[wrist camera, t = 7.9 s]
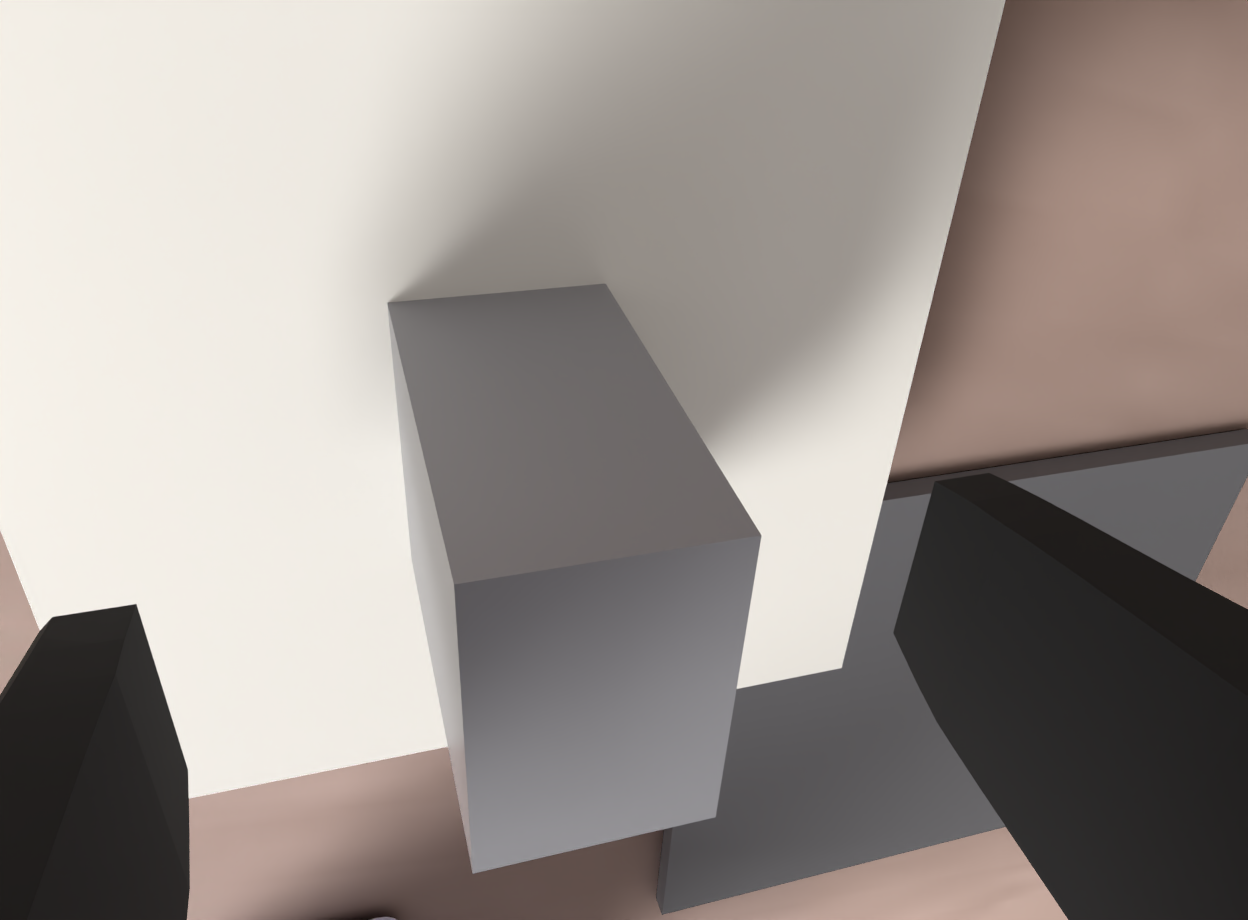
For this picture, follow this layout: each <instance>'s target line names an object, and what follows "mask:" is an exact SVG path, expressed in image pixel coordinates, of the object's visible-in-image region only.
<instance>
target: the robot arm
mask: <svg viewBox="0 0 1248 920" xmlns="http://www.w3.org/2000/svg"><path fill="white" fill-rule="evenodd" d="M893 633H894V636H895V638H896V640H897V642H898V644H899V646H900V648H901V651H902V653H903V655H904V657H905V659H906V661H907V663H908V666H909V668H910V670H911V672H912V674H913V676H914V678H915V681H916V683H917V685H918V687H919V688H920V690H921V692H922V694H923V696H924V698H925V700H926V702H927V704H928V706H929V708H930V710H931V712H932V714H933V716H934V718H935V720H936V722H937V723H938V725H939V726H940V728H941V729H942V731H943V733H944V734H945V736H946V737H947V739H948V740H949V742H950V744H951V745H952V747H953V748H954V750H955V751H956V753H957V754H958V756H959V757H960V759H961V760H962V762H963V763H964V765H965V766H966V768H967V769H968V771H969V772H970V774H971V775H972V777H973V778H974V780H975V781H976V783H977V784H978V786H979V788H980V789H981V791H982V792H983V794H984V795H985V797H986V798H987V799H988V801H989V802H990V804H991V805H992V807H993V808H994V810H995V811H996V813H997V814H998V816H999V817H1000V819H1001V820H1002V822H1003V823H1004V825H1005V826H1006V828H1007V829H1008V831H1009V832H1010V834H1011V835H1012V837H1013V838H1014V840H1015V841H1016V842H1017V844H1018V845H1019V847H1020V848H1021V850H1022V851H1023V853H1024V854H1025V856H1026V857H1027V859H1028V860H1029V862H1030V863H1031V865H1032V866H1033V868H1034V869H1035V871H1036V872H1037V874H1038V875H1039V877H1040V878H1041V880H1042V881H1043V883H1044V884H1045V886H1046V887H1047V889H1048V890H1049V891H1050V893H1051V894H1052V896H1053V897H1054V899H1055V900H1056V902H1057V903H1058V905H1059V906H1060V908H1061V909H1062V911H1063V912H1064V914H1065V915H1066V917H1067V918H1068V920H1248V609H1246V608H1244V607H1242V606H1240V605H1238V604H1236V603H1234V602H1233V601H1231V600H1229V599H1227V598H1225V597H1223V596H1221V595H1219V594H1217V593H1216V592H1214V591H1212V590H1210V589H1208V588H1206V587H1204V586H1202V585H1200V584H1199V583H1197V582H1195V581H1193V580H1191V579H1189V578H1188V577H1186V576H1184V575H1182V574H1180V573H1178V572H1176V571H1175V570H1173V569H1171V568H1169V567H1167V566H1165V565H1163V564H1162V563H1160V562H1158V561H1156V560H1154V559H1153V558H1151V557H1149V556H1147V555H1145V554H1143V553H1142V552H1140V551H1138V550H1136V549H1134V548H1132V547H1131V546H1129V545H1127V544H1125V543H1123V542H1121V541H1120V540H1118V539H1116V538H1114V537H1112V536H1111V535H1109V534H1107V533H1105V532H1103V531H1101V530H1100V529H1098V528H1096V527H1094V526H1092V525H1091V524H1089V523H1087V522H1085V521H1083V520H1081V519H1079V518H1078V517H1076V516H1074V515H1072V514H1070V513H1068V512H1066V511H1065V510H1063V509H1061V508H1059V507H1057V506H1055V505H1053V504H1052V503H1050V502H1048V501H1046V500H1044V499H1042V498H1040V497H1038V496H1036V495H1034V494H1032V493H1030V492H1029V491H1026V490H1024V489H1022V488H1020V487H1018V486H1016V485H1014V484H1012V483H1010V482H1008V481H1006V480H1004V479H1002V478H999V477H997V476H995V475H993V474H991V473H985V474H978V475H972V476H965V477H959V478H952V479H946V480H939V481H935V482H934V486H933V489H932V493H931V497H930V500H929V504H928V508H927V511H926V515H925V519H924V522H923V526H922V530H921V533H920V537H919V540H918V544H917V548H916V551H915V555H914V559H913V562H912V566H911V570H910V573H909V577H908V581H907V584H906V588H905V592H904V595H903V599H902V602H901V606H900V610H899V613H898V617H897V621H896V624H895V628H894V632H893ZM189 889H190V881H189V793H188V768H187V765H186V762H185V759H184V755H183V752H182V749H181V746H180V743H179V739H178V736H177V733H176V730H175V727H174V723H173V720H172V717H171V714H170V710H169V707H168V704H167V701H166V698H165V694H164V691H163V688H162V685H161V682H160V678H159V675H158V672H157V669H156V665H155V662H154V659H153V656H152V653H151V649H150V646H149V643H148V640H147V637H146V633H145V630H144V627H143V624H142V620H141V617H140V614H139V611H138V608H137V604H133V605H127V606H120V607H114V608H107V609H101V610H94V611H88V612H81V613H75V614H68V615H62V616H55V617H52V618H51V619H50V620H49V621H48V622H47V623H46V624H45V626H44V627H43V628H42V629H41V630H40V631H39V633H38V635H37V636H36V638H35V640H34V641H33V643H32V645H31V646H30V648H29V649H28V651H27V653H26V654H25V656H24V658H23V659H22V661H21V662H20V664H19V666H18V667H17V669H16V671H15V672H14V674H13V675H12V677H11V679H10V680H9V682H8V684H7V685H6V687H5V688H4V690H3V692H2V693H1V695H0V920H187V910H188V899H189ZM370 920H397V919H395V918H393V917H379V918H374V919H370Z"/></svg>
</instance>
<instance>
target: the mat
mask: <svg viewBox="0 0 1248 920" xmlns="http://www.w3.org/2000/svg"><path fill="white" fill-rule="evenodd" d="M985 473H991V474H993V475H995V476H997V477H999V478H1002V479H1004V480H1006V481H1008V482H1010V483H1012V484H1014V485H1016V486H1018V487H1020V488H1022V489H1024V490H1026V491H1029V492H1030V493H1032V494H1034V495H1036V496H1038V497H1040V498H1042V499H1044V500H1046V501H1048V502H1050V503H1052V504H1053V505H1055V506H1057V507H1059V508H1061V509H1063V510H1065V511H1066V512H1068V513H1070V514H1072V515H1074V516H1076V517H1078V518H1079V519H1081V520H1083V521H1085V522H1087V523H1089V524H1091V525H1092V526H1094V527H1096V528H1098V529H1100V530H1101V531H1103V532H1105V533H1107V534H1109V535H1111V536H1112V537H1114V538H1116V539H1118V540H1120V541H1121V542H1123V543H1125V544H1127V545H1129V546H1131V547H1132V548H1134V549H1136V550H1138V551H1140V552H1142V553H1143V554H1145V555H1147V556H1149V557H1151V558H1153V559H1154V560H1156V561H1158V562H1160V563H1162V564H1163V565H1165V566H1167V567H1169V568H1171V569H1173V570H1175V571H1176V572H1178V573H1180V574H1182V575H1184V576H1186V577H1188V578H1189V579H1191V580H1193V581H1196V579H1197V577H1198V575H1199V573H1200V571H1201V569H1202V567H1203V565H1204V563H1205V561H1206V559H1207V557H1208V555H1209V553H1210V551H1211V549H1212V547H1213V545H1214V543H1215V541H1216V539H1217V537H1218V535H1219V533H1220V531H1221V529H1222V527H1223V525H1224V522H1225V520H1226V518H1227V516H1228V514H1229V512H1230V510H1231V508H1232V506H1233V504H1234V502H1235V500H1236V498H1237V496H1238V494H1239V492H1240V490H1241V488H1242V486H1243V484H1244V482H1245V480H1246V478H1247V476H1248V429H1243V430H1237V431H1230V432H1223V433H1217V434H1210V435H1204V436H1197V437H1190V438H1184V439H1177V440H1171V441H1164V442H1157V443H1151V444H1144V445H1137V446H1131V447H1124V448H1118V449H1111V450H1104V451H1098V452H1091V453H1085V454H1078V455H1071V456H1065V457H1058V458H1052V459H1045V460H1038V461H1032V462H1025V463H1019V464H1012V465H1005V466H999V467H992V468H986V469H979V470H972V471H966V472H959V473H953V474H946V475H939V476H933V477H926V478H920V479H913V480H906V481H900V482H893V483H887V485H886V489H885V493H884V497H883V501H882V505H881V509H880V514H879V518H878V522H877V526H876V530H875V534H874V538H873V542H872V546H871V550H870V554H869V558H868V562H867V566H866V571H865V575H864V579H863V583H862V587H861V591H860V595H859V599H858V603H857V607H856V611H855V615H854V619H853V623H852V628H851V632H850V636H849V640H848V644H847V648H846V652H845V656H844V660H843V664H842V668H839V669H834V670H829V671H824V672H819V673H814V674H809V675H804V676H799V677H794V678H789V679H784V680H779V681H774V682H769V683H764V684H759V685H754V686H749V687H744V688H739V689H736V695H735V701H734V707H733V714H732V720H731V726H730V732H729V738H728V744H727V750H726V756H725V763H724V769H723V775H722V781H721V787H720V793H719V799H718V806H717V812H716V817H714V818H710V819H706V820H701V821H697V822H693V823H688V824H684V825H680V826H676V827H671V828H667V829H664V833H663V842H662V851H661V859H660V868H659V877H658V885H657V894H656V899H657V902H658V904H659V907H660V910H661V913H662V915H663V914H667V913H671V912H675V911H679V910H682V909H686V908H690V907H694V906H698V905H702V904H706V903H710V902H714V901H718V900H721V899H725V898H729V897H733V896H737V895H741V894H745V893H749V892H753V891H757V890H760V889H764V888H768V887H772V886H776V885H780V884H784V883H788V882H792V881H796V880H799V879H803V878H807V877H811V876H815V875H819V874H823V873H827V872H831V871H835V870H839V869H842V868H846V867H850V866H854V865H858V864H862V863H866V862H870V861H874V860H878V859H881V858H885V857H889V856H893V855H897V854H901V853H905V852H909V851H913V850H917V849H920V848H924V847H928V846H932V845H936V844H940V843H944V842H948V841H952V840H956V839H960V838H963V837H967V836H971V835H975V834H979V833H983V832H987V831H991V830H995V829H999V828H1002V827H1006V826H1005V825H1004V823H1003V822H1002V820H1001V819H1000V817H999V816H998V814H997V813H996V811H995V810H994V808H993V807H992V805H991V804H990V802H989V801H988V799H987V798H986V797H985V795H984V794H983V792H982V791H981V789H980V788H979V786H978V784H977V783H976V781H975V780H974V778H973V777H972V775H971V774H970V772H969V771H968V769H967V768H966V766H965V765H964V763H963V762H962V760H961V759H960V757H959V756H958V754H957V753H956V751H955V750H954V748H953V747H952V745H951V744H950V742H949V740H948V739H947V737H946V736H945V734H944V733H943V731H942V729H941V728H940V726H939V725H938V723H937V722H936V720H935V718H934V716H933V714H932V712H931V710H930V708H929V706H928V704H927V702H926V700H925V698H924V696H923V694H922V692H921V690H920V688H919V687H918V685H917V683H916V681H915V678H914V676H913V674H912V672H911V670H910V668H909V666H908V663H907V661H906V659H905V657H904V655H903V653H902V651H901V648H900V646H899V644H898V642H897V640H896V638H895V636H894V633H893V632H894V628H895V624H896V621H897V617H898V613H899V610H900V606H901V602H902V599H903V595H904V592H905V588H906V584H907V581H908V577H909V573H910V570H911V566H912V562H913V559H914V555H915V551H916V548H917V544H918V540H919V537H920V533H921V530H922V526H923V522H924V519H925V515H926V511H927V508H928V504H929V500H930V497H931V493H932V489H933V486H934V482H935V481H939V480H946V479H952V478H959V477H965V476H972V475H978V474H985Z"/></svg>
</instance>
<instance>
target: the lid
mask: <svg viewBox="0 0 1248 920" xmlns="http://www.w3.org/2000/svg"><path fill="white" fill-rule="evenodd" d="M1005 1H1006V0H0V531H1V533H2V536H3V538H4V541H5V543H6V546H7V548H8V551H9V553H10V556H11V558H12V561H13V564H14V566H15V569H16V571H17V574H18V576H19V579H20V581H21V584H22V586H23V589H24V592H25V594H26V597H27V599H28V602H29V604H30V607H31V609H32V612H33V614H34V617H35V619H36V622H37V625H38V627H39V630H41V629H42V628H43V627H44V626H45V624H46V623H47V622H48V621H49V620H50V619H51V618H52V617H55V616H62V615H68V614H75V613H81V612H88V611H94V610H101V609H107V608H114V607H120V606H127V605H133V604H137V608H138V611H139V614H140V617H141V620H142V624H143V627H144V630H145V633H146V637H147V640H148V643H149V646H150V649H151V653H152V656H153V659H154V662H155V665H156V669H157V672H158V675H159V678H160V682H161V685H162V688H163V691H164V694H165V698H166V701H167V704H168V707H169V710H170V714H171V717H172V720H173V723H174V727H175V730H176V733H177V736H178V739H179V743H180V746H181V749H182V752H183V755H184V759H185V762H186V765H187V768H188V793H189V798H194V797H199V796H204V795H209V794H214V793H219V792H224V791H229V790H234V789H239V788H244V787H249V786H254V785H259V784H264V783H269V782H274V781H279V780H284V779H289V778H294V777H299V776H304V775H309V774H314V773H319V772H324V771H329V770H334V769H339V768H344V767H349V766H354V765H359V764H364V763H369V762H374V761H379V760H384V759H389V758H394V757H399V756H404V755H409V754H414V753H419V752H424V751H429V750H434V749H439V748H444V747H448V749H449V755H450V760H451V765H452V770H453V775H454V780H455V785H456V791H457V796H458V801H459V806H460V811H461V816H462V821H463V827H464V832H465V837H466V842H467V847H468V852H469V857H470V862H471V868H472V873H473V874H474V873H478V872H482V871H487V870H491V869H495V868H500V867H504V866H508V865H512V864H517V863H521V862H525V861H530V860H534V859H538V858H543V857H547V856H551V855H555V854H560V853H564V852H568V851H573V850H577V849H581V848H585V847H590V846H594V845H598V844H603V843H607V842H611V841H615V840H620V839H624V838H628V837H633V836H637V835H641V834H646V833H650V832H654V831H658V830H663V829H667V828H671V827H676V826H680V825H684V824H688V823H693V822H697V821H701V820H706V819H710V818H714V817H716V812H717V806H718V799H719V793H720V787H721V781H722V775H723V769H724V763H725V756H726V750H727V744H728V738H729V732H730V726H731V720H732V714H733V707H734V701H735V695H736V689H739V688H744V687H749V686H754V685H759V684H764V683H769V682H774V681H779V680H784V679H789V678H794V677H799V676H804V675H809V674H814V673H819V672H824V671H829V670H834V669H839V668H842V664H843V660H844V656H845V652H846V648H847V644H848V640H849V636H850V632H851V628H852V623H853V619H854V615H855V611H856V607H857V603H858V599H859V595H860V591H861V587H862V583H863V579H864V575H865V571H866V566H867V562H868V558H869V554H870V550H871V546H872V542H873V538H874V534H875V530H876V526H877V522H878V518H879V514H880V509H881V505H882V501H883V497H884V493H885V489H886V485H887V481H888V477H889V473H890V469H891V465H892V461H893V457H894V452H895V448H896V444H897V440H898V436H899V432H900V428H901V424H902V420H903V416H904V412H905V408H906V404H907V400H908V395H909V391H910V387H911V383H912V379H913V375H914V371H915V367H916V363H917V359H918V355H919V351H920V347H921V343H922V338H923V334H924V330H925V326H926V322H927V318H928V314H929V310H930V306H931V302H932V298H933V294H934V290H935V286H936V282H937V277H938V273H939V269H940V265H941V261H942V257H943V253H944V249H945V245H946V241H947V237H948V233H949V229H950V225H951V220H952V216H953V212H954V208H955V204H956V200H957V196H958V192H959V188H960V184H961V180H962V176H963V172H964V168H965V163H966V159H967V155H968V151H969V147H970V143H971V139H972V135H973V131H974V127H975V123H976V119H977V115H978V111H979V106H980V102H981V98H982V94H983V90H984V86H985V82H986V78H987V74H988V70H989V66H990V62H991V58H992V54H993V49H994V45H995V41H996V37H997V33H998V29H999V25H1000V21H1001V17H1002V13H1003V9H1004V5H1005Z"/></svg>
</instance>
